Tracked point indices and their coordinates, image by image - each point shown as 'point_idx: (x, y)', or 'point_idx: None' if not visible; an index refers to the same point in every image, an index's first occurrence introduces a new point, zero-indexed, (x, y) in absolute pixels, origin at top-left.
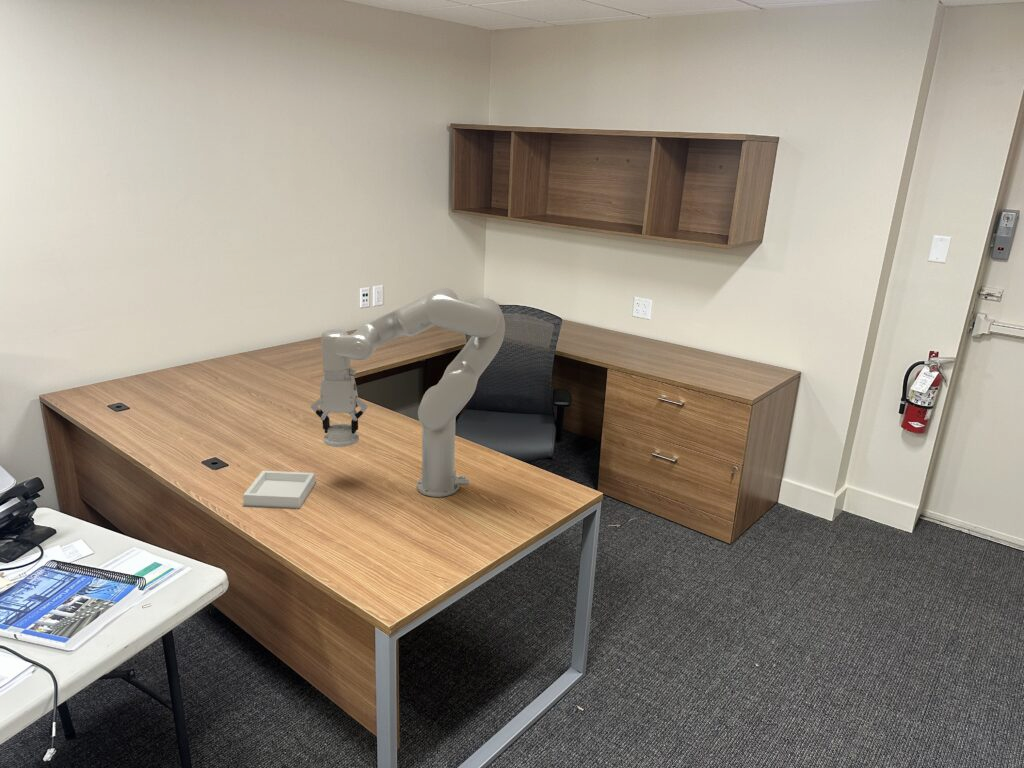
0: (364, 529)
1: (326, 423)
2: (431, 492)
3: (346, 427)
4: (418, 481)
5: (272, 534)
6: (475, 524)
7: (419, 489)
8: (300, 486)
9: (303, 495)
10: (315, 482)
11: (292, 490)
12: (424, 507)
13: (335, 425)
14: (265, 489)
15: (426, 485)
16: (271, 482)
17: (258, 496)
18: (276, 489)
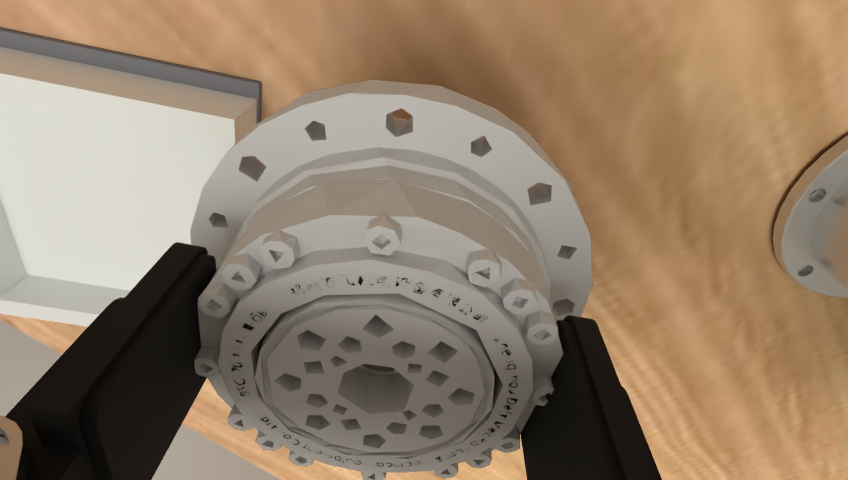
0: None
1: (148, 474)
2: (818, 284)
3: (457, 404)
4: (822, 176)
5: (223, 421)
6: (835, 435)
7: (781, 251)
8: (194, 167)
9: None
10: (256, 94)
11: (171, 205)
12: (730, 342)
13: (283, 322)
14: (29, 182)
15: (828, 268)
16: (9, 104)
17: (58, 318)
18: (85, 187)
